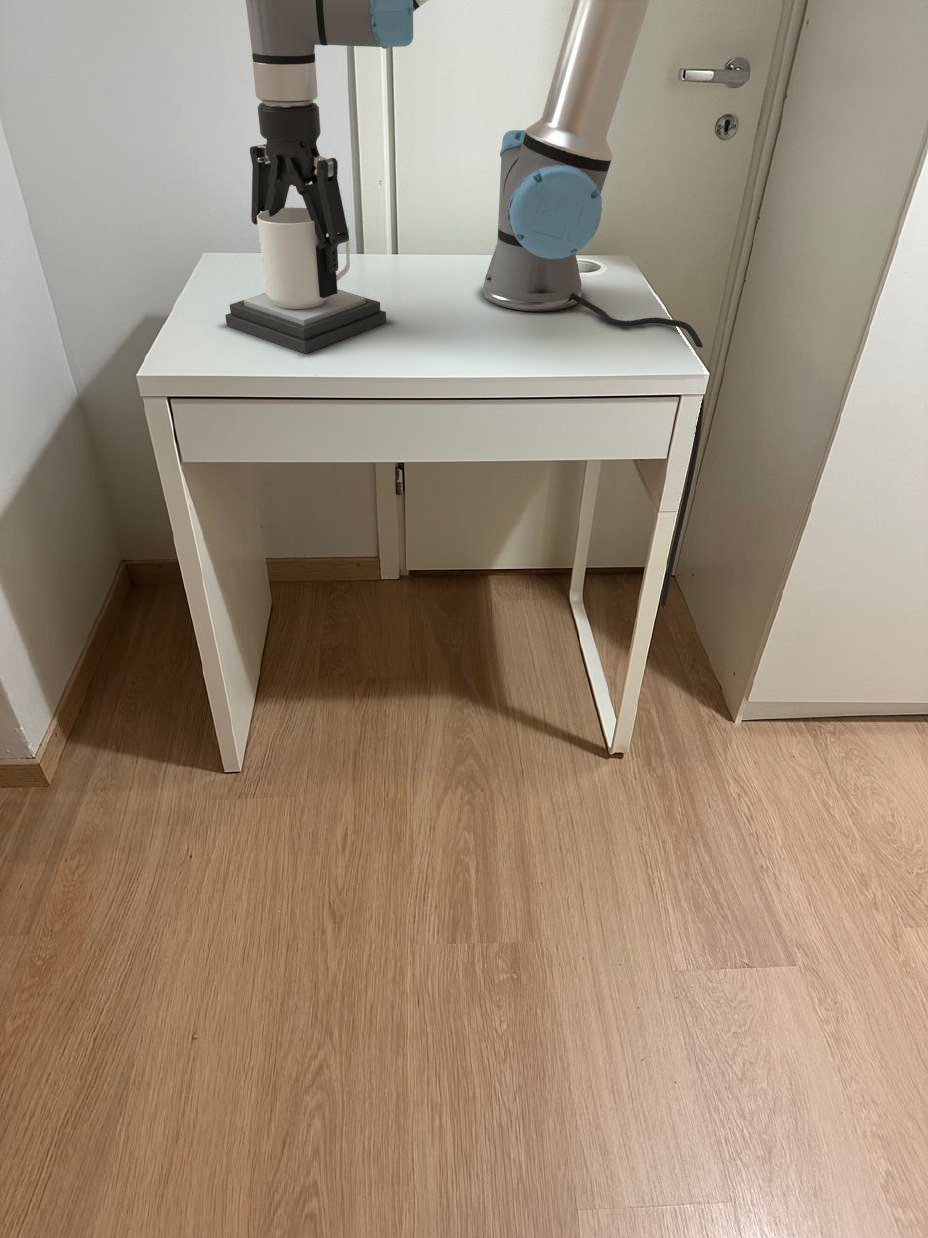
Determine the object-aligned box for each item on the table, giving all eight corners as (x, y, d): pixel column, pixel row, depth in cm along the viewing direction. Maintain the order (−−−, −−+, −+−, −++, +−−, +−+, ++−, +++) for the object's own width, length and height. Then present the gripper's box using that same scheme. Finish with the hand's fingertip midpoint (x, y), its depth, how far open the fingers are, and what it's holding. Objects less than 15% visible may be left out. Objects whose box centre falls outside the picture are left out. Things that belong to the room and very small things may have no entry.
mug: (264, 311, 119) (253, 224, 112) (269, 291, 126) (259, 207, 119) (353, 309, 120) (348, 222, 113) (353, 289, 127) (348, 206, 120)
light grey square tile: (366, 307, 125) (365, 297, 124) (304, 330, 118) (303, 320, 117) (307, 289, 131) (306, 280, 130) (244, 309, 123) (243, 300, 123)
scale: (386, 322, 127) (385, 301, 125) (305, 354, 117) (303, 331, 115) (308, 298, 135) (306, 277, 133) (226, 325, 125) (223, 304, 123)
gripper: (372, 108, 106) (379, 298, 120) (252, 89, 116) (271, 265, 130) (328, 115, 101) (340, 312, 115) (207, 94, 111) (232, 277, 125)
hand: (304, 287), depth 123 cm, fingers closed on mug, 9 cm apart
